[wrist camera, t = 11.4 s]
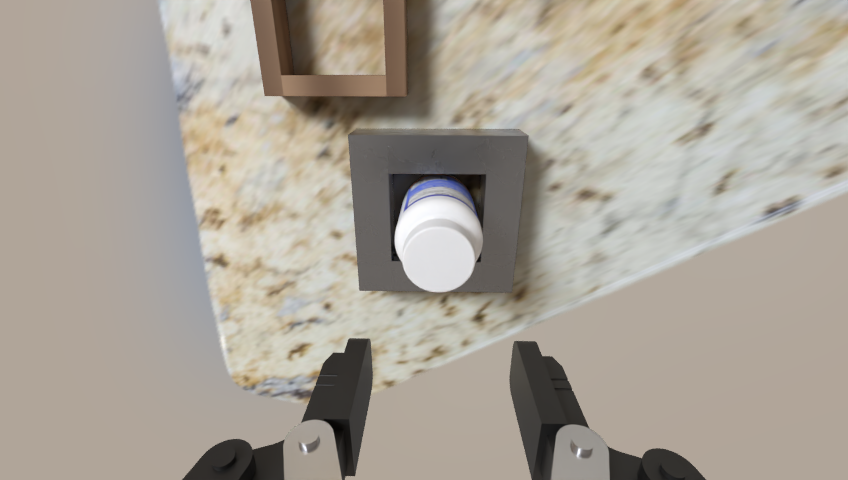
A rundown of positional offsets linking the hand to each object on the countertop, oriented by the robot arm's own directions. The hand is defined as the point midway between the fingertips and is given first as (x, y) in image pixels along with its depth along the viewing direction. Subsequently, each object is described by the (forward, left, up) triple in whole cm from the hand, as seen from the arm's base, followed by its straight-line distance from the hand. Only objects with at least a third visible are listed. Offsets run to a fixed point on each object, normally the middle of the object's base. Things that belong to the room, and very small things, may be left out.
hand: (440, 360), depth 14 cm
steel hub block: (0, 0, -17) cm, 17 cm away
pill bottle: (0, 0, -18) cm, 18 cm away
